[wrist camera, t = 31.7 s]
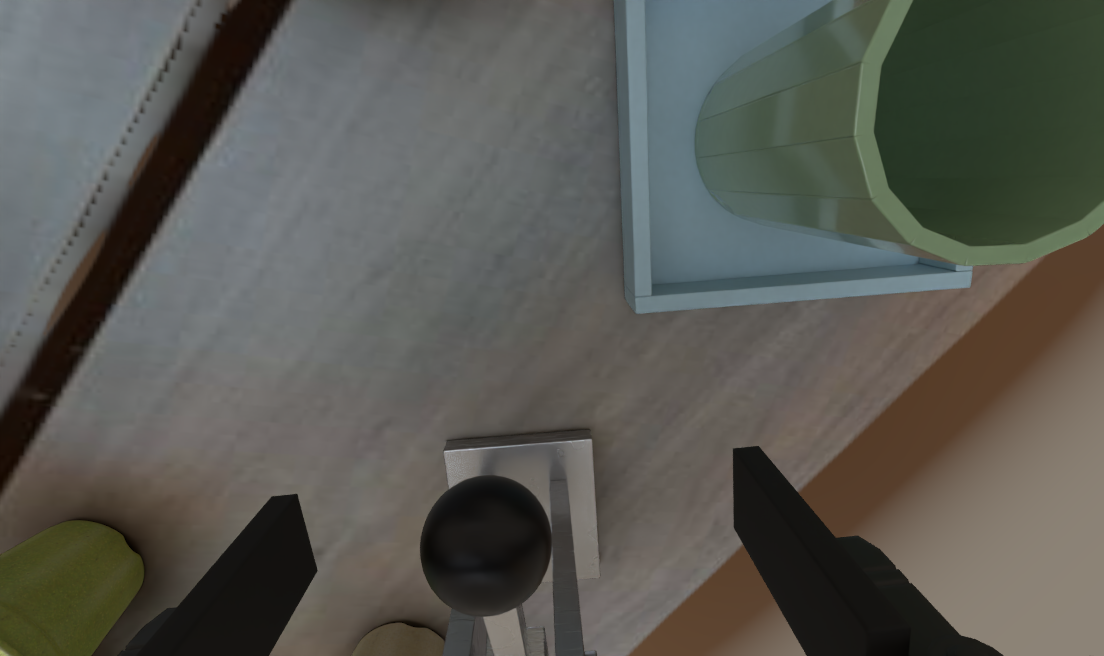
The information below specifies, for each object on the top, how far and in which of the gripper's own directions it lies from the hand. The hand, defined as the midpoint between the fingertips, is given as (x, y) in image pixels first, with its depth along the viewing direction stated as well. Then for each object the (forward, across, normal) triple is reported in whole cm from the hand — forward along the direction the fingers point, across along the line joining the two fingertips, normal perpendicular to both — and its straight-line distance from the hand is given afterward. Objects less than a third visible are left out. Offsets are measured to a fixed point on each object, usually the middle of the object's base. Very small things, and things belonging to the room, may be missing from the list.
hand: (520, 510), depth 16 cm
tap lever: (+2, -1, -3) cm, 4 cm away
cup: (+12, +13, +10) cm, 20 cm away
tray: (+13, +13, +10) cm, 21 cm away
